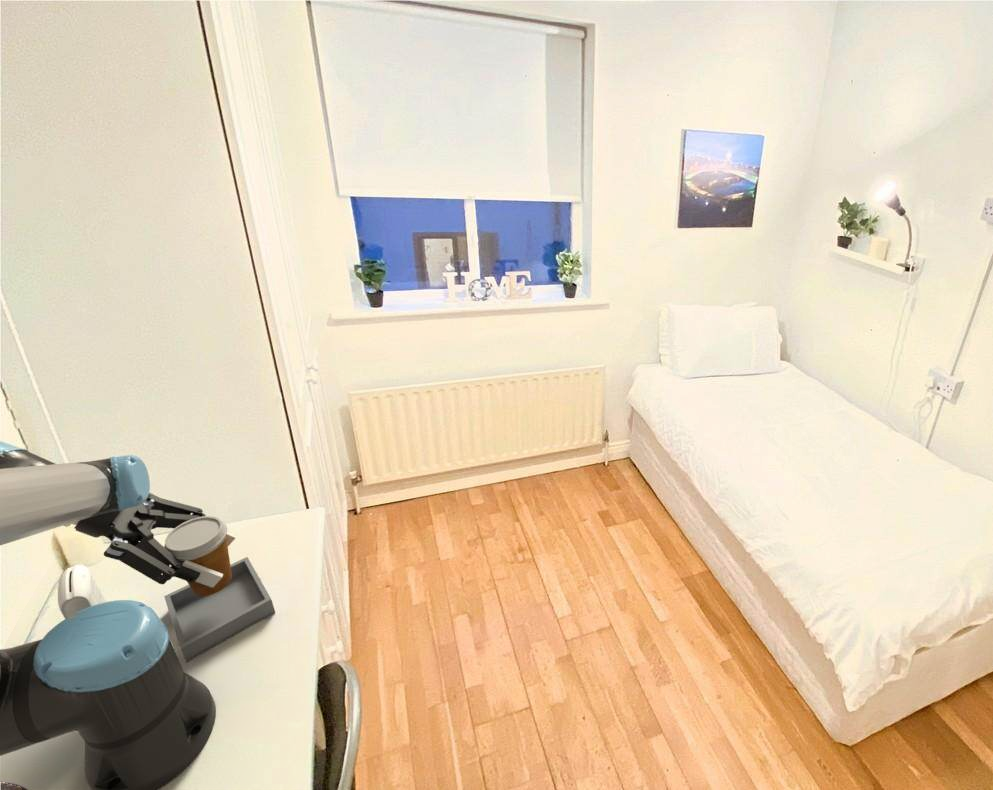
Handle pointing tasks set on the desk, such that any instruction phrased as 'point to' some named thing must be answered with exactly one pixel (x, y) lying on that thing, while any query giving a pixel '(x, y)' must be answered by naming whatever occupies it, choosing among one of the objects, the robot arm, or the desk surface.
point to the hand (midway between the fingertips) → (225, 560)
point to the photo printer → (77, 591)
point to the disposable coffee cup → (202, 549)
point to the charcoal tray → (218, 611)
